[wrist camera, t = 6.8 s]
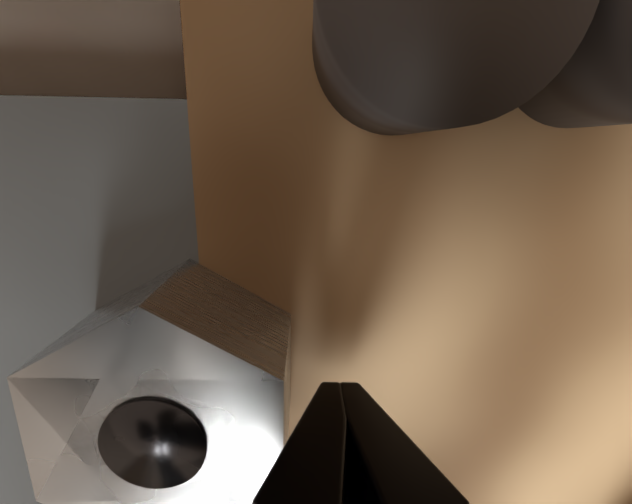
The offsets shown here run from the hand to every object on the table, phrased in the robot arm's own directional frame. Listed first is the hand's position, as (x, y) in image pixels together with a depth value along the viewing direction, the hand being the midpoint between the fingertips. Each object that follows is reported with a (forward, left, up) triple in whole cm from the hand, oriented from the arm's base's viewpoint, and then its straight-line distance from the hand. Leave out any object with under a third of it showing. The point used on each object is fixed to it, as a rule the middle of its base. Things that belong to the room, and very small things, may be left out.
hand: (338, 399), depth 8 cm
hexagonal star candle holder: (-3, 0, -1) cm, 3 cm away
